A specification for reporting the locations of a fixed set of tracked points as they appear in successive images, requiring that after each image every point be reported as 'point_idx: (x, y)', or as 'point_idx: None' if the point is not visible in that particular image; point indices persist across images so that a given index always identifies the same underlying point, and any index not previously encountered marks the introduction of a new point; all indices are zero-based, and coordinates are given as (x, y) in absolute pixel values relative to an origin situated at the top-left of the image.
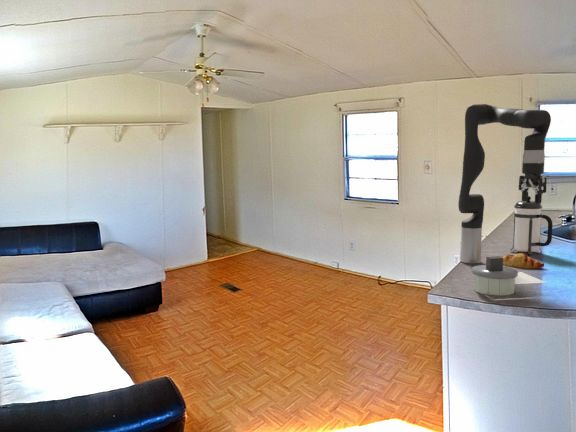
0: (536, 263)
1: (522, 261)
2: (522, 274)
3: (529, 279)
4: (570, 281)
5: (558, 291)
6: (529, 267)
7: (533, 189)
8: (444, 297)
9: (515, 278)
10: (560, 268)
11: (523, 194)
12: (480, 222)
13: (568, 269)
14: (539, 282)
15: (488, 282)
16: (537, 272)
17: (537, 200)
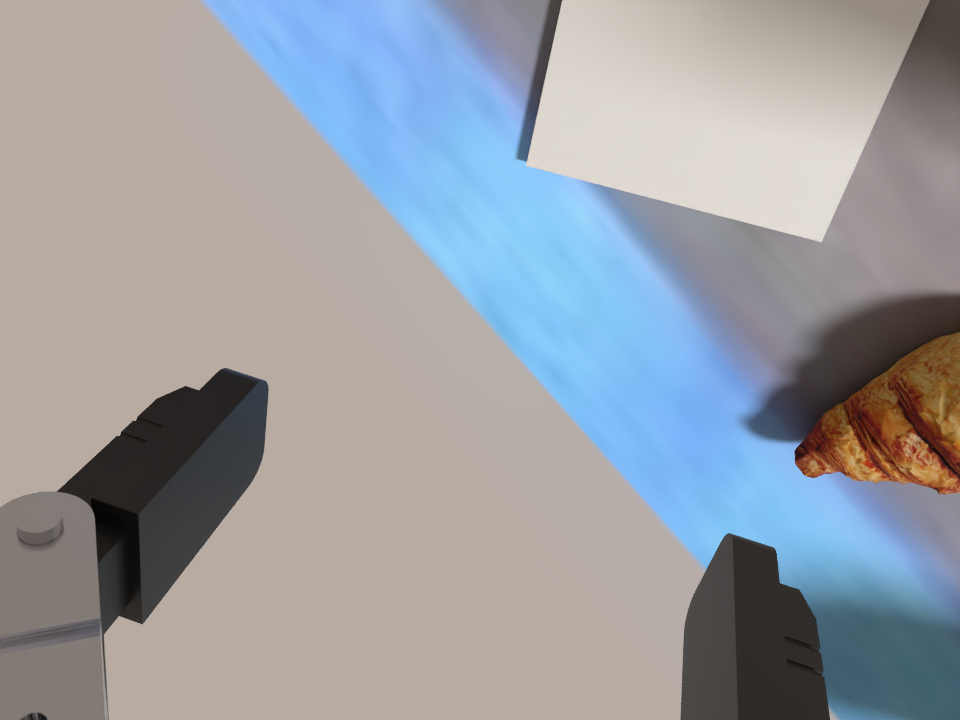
0: (834, 433)
1: (924, 376)
2: (768, 189)
3: (636, 119)
4: (515, 346)
5: (368, 87)
6: (868, 384)
7: (95, 626)
8: None
9: (710, 35)
10: None
11: (731, 677)
12: None
13: None
14: (545, 121)
15: None
16: (775, 357)
17: (165, 414)
